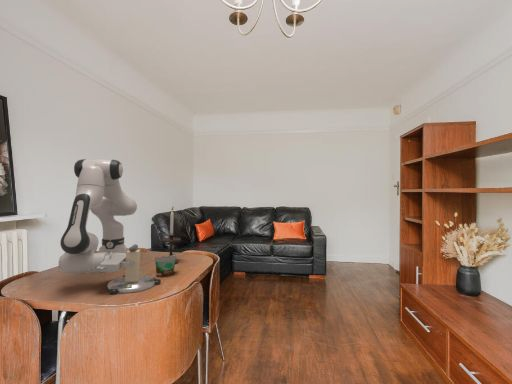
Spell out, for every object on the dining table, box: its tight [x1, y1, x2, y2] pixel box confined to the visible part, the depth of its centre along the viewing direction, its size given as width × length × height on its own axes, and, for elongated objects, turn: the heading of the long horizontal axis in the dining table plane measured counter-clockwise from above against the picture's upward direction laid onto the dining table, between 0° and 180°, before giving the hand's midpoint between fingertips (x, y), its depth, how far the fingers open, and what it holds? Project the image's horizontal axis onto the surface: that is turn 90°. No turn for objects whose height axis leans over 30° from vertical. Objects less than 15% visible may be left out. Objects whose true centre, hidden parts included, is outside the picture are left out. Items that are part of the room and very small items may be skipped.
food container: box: [153, 252, 178, 278], centre depth 133 cm, size 12×6×10 cm, turn 148°
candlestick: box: [161, 206, 181, 265], centre depth 158 cm, size 11×11×35 cm
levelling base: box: [107, 274, 162, 296], centre depth 118 cm, size 21×22×2 cm
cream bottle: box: [124, 244, 142, 281], centre depth 118 cm, size 6×5×15 cm
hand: (135, 261), depth 118 cm, fingers closed on cream bottle, 5 cm apart
